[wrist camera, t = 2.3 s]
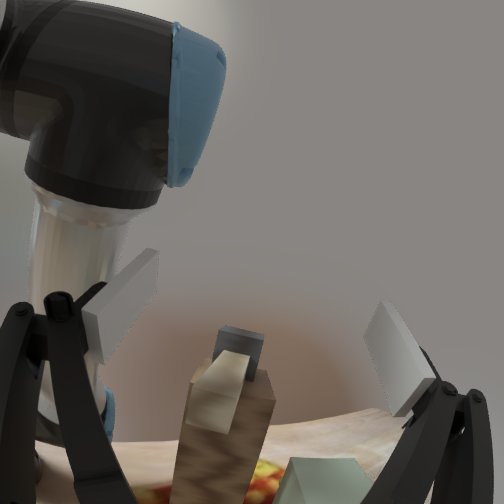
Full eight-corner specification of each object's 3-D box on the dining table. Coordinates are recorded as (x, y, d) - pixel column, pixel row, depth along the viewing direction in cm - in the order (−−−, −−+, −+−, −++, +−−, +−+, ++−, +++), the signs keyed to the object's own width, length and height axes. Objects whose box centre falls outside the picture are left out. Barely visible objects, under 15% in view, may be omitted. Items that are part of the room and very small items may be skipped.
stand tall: (165, 528, 24) (189, 382, 28) (179, 487, 37) (204, 357, 41) (227, 541, 24) (276, 400, 28) (229, 498, 37) (266, 370, 41)
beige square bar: (170, 418, 19) (182, 352, 20) (217, 361, 40) (225, 325, 41) (243, 438, 18) (260, 372, 19) (255, 370, 40) (264, 334, 41)
